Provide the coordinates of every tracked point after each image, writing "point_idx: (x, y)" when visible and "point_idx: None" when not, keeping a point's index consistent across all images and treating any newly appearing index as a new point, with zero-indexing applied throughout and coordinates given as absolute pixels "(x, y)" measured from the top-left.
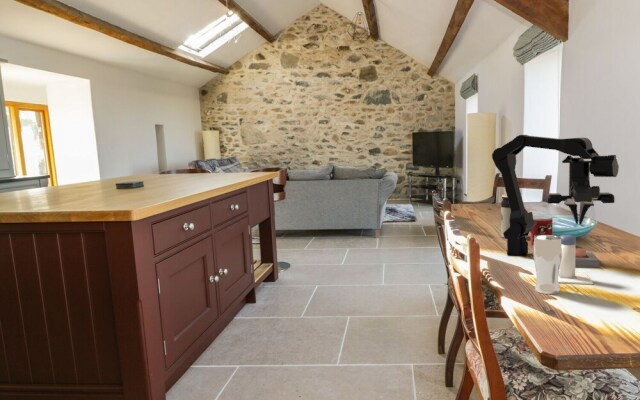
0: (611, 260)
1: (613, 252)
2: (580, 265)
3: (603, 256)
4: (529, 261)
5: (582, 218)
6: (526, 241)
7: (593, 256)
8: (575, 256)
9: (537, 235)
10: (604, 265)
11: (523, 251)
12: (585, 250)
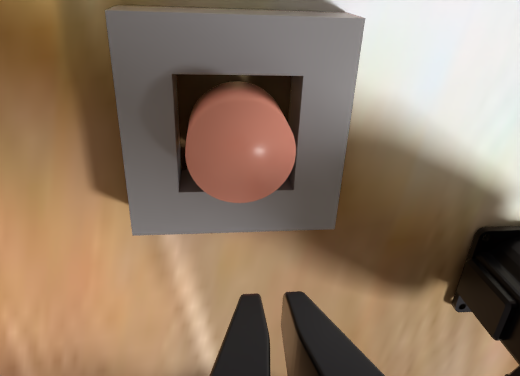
0: (27, 207)
1: (11, 365)
2: (241, 9)
3: (68, 285)
4: (507, 119)
5: (233, 361)
6: (510, 319)
7: (136, 120)
8: (265, 94)
9: None
10: (76, 76)
11: (498, 258)
12: (191, 130)
